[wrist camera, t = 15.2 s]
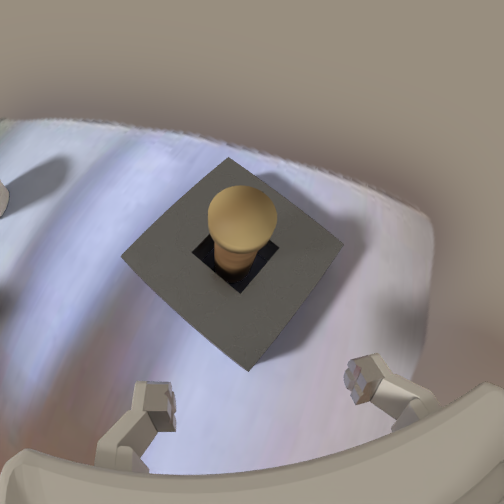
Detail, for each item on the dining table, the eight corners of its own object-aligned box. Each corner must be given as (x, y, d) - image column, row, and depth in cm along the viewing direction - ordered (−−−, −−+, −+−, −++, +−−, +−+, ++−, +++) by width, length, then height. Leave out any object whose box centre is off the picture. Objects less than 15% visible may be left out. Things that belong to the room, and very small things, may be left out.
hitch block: (326, 259, 33) (343, 244, 28) (242, 368, 27) (248, 371, 22) (226, 181, 35) (228, 157, 30) (134, 271, 29) (120, 256, 24)
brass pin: (263, 263, 31) (290, 212, 20) (235, 296, 30) (247, 261, 18) (229, 236, 32) (238, 174, 21) (200, 267, 30) (193, 216, 19)
